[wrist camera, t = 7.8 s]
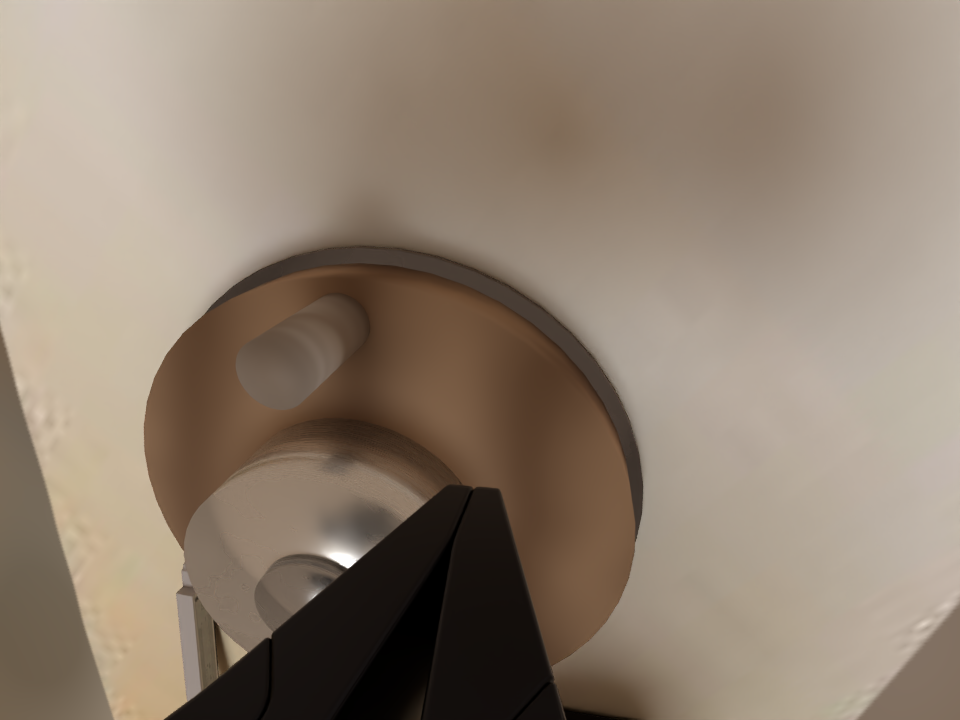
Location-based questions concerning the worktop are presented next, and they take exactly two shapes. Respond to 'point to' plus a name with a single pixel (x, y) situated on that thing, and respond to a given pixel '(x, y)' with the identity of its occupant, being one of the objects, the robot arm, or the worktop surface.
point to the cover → (302, 519)
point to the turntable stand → (490, 289)
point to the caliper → (196, 639)
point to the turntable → (409, 415)
